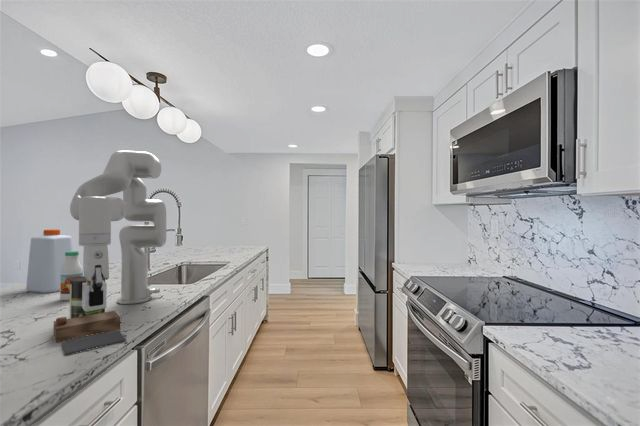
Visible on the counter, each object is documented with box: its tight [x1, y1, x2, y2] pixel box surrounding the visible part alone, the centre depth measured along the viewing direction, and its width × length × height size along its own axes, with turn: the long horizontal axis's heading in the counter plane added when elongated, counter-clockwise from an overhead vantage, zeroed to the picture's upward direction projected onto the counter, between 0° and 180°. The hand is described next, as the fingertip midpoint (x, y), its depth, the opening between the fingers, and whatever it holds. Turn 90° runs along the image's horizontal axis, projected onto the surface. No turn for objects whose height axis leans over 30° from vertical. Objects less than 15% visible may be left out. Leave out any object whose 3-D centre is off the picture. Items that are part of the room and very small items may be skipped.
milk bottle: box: [59, 250, 84, 301], centre depth 137 cm, size 8×8×20 cm
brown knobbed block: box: [53, 310, 121, 343], centre depth 101 cm, size 16×8×6 cm, turn 133°
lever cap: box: [82, 281, 108, 311], centre depth 92 cm, size 5×5×8 cm
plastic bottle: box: [25, 228, 74, 294], centre depth 152 cm, size 15×15×28 cm
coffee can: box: [69, 275, 106, 319], centre depth 113 cm, size 10×10×14 cm
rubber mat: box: [61, 330, 127, 357], centre depth 93 cm, size 14×9×1 cm, turn 133°
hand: (94, 302), depth 92 cm, fingers closed on lever cap, 5 cm apart
